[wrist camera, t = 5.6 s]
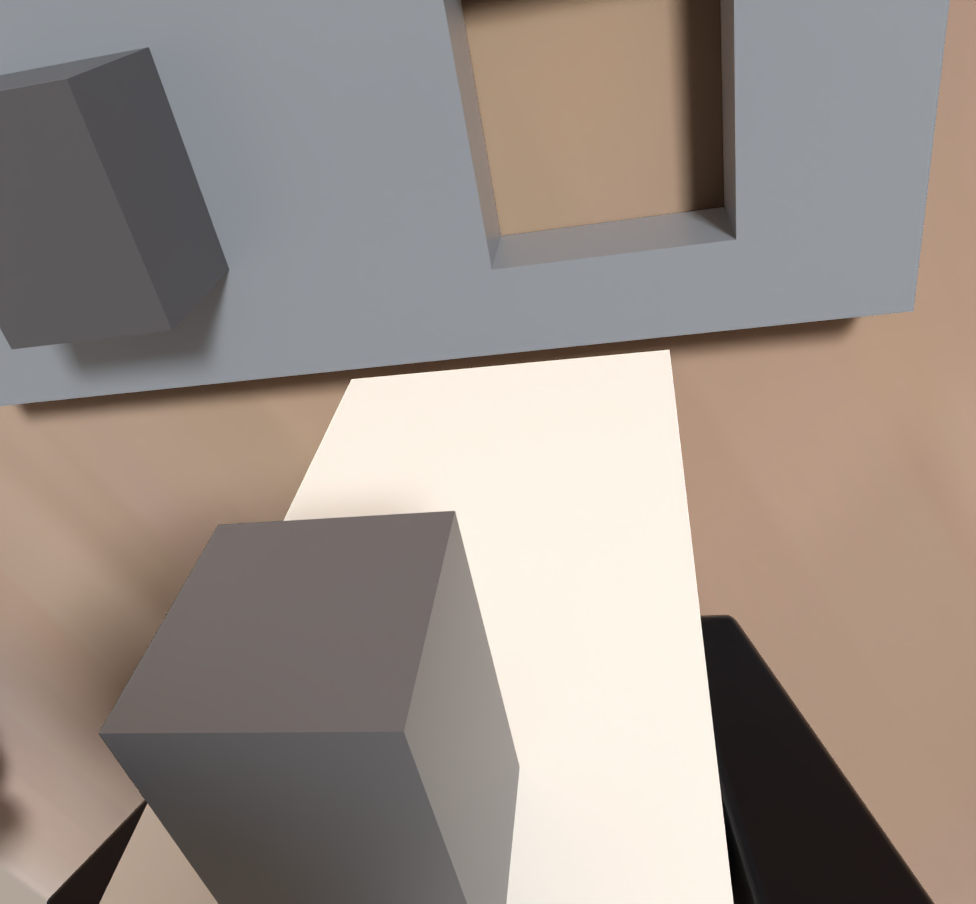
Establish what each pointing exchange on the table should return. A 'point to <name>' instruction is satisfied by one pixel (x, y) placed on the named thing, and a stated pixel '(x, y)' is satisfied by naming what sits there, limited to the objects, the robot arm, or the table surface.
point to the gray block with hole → (415, 192)
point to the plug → (442, 663)
